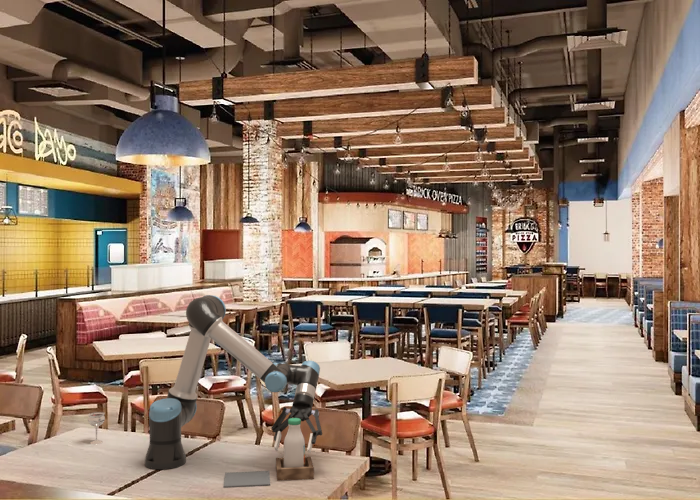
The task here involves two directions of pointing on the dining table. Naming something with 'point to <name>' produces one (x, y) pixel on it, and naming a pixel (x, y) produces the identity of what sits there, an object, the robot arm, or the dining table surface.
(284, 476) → the walnut collar
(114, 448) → the dining table surface
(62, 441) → the dining table surface
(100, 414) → the wineglass
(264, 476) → the slate mat
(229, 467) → the dining table surface
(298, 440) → the milk bottle
